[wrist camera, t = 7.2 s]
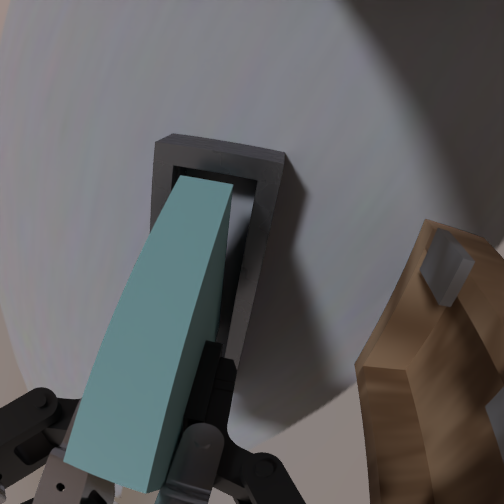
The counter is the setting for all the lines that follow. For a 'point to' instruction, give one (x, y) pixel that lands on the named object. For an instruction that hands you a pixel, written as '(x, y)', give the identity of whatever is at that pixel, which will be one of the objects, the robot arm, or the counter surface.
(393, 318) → the cabinet
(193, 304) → the door panel
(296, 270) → the counter surface
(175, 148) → the grey rectangular frame
